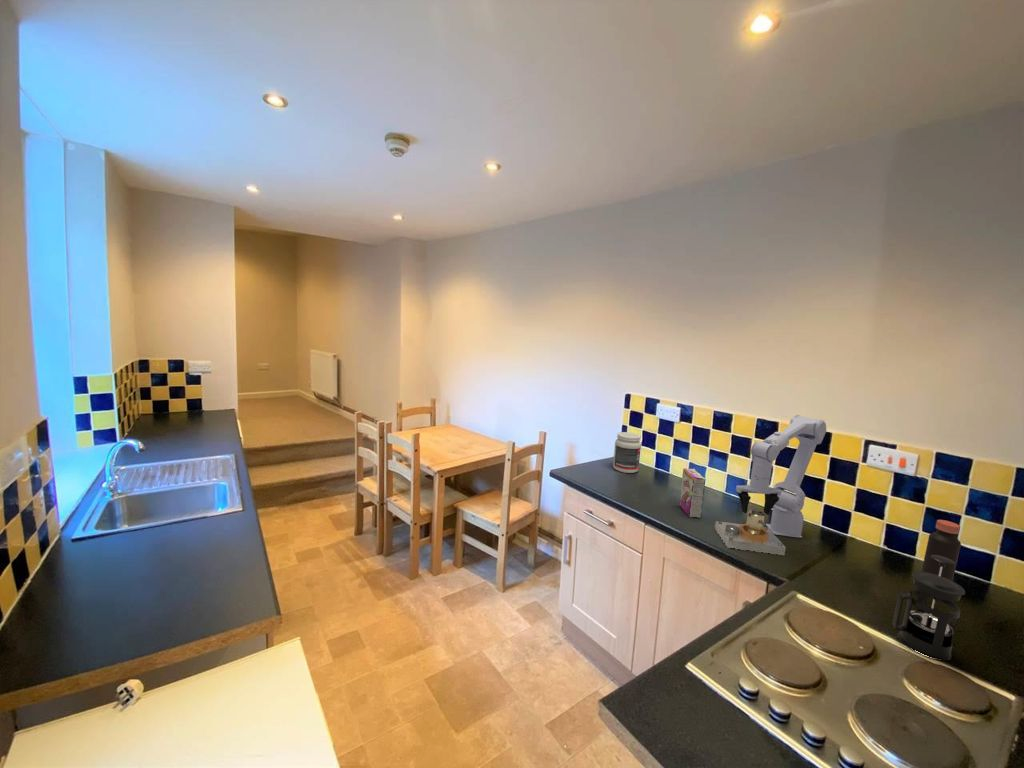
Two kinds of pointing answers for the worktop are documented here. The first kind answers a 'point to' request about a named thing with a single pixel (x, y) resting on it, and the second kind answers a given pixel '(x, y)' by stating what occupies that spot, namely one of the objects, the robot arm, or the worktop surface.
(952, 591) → the french press
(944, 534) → the bottle
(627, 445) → the supplement tub
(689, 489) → the candy bar box
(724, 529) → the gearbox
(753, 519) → the tan piece
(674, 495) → the worktop surface
